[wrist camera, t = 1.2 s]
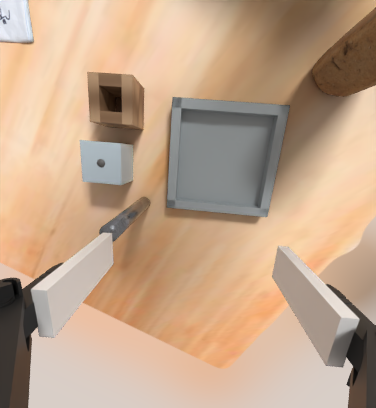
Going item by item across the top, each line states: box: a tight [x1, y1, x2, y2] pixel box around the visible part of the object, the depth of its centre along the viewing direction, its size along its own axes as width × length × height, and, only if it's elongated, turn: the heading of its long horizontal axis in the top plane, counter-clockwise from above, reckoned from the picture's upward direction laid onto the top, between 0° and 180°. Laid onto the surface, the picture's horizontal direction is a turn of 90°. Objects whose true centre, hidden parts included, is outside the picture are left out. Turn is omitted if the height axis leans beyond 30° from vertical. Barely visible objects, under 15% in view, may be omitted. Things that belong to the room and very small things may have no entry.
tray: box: [167, 97, 290, 217], centre depth 35 cm, size 20×20×2 cm
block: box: [80, 140, 133, 185], centre depth 35 cm, size 7×7×6 cm
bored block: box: [87, 72, 144, 130], centre depth 32 cm, size 7×7×6 cm
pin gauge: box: [99, 197, 150, 242], centre depth 32 cm, size 2×2×16 cm
